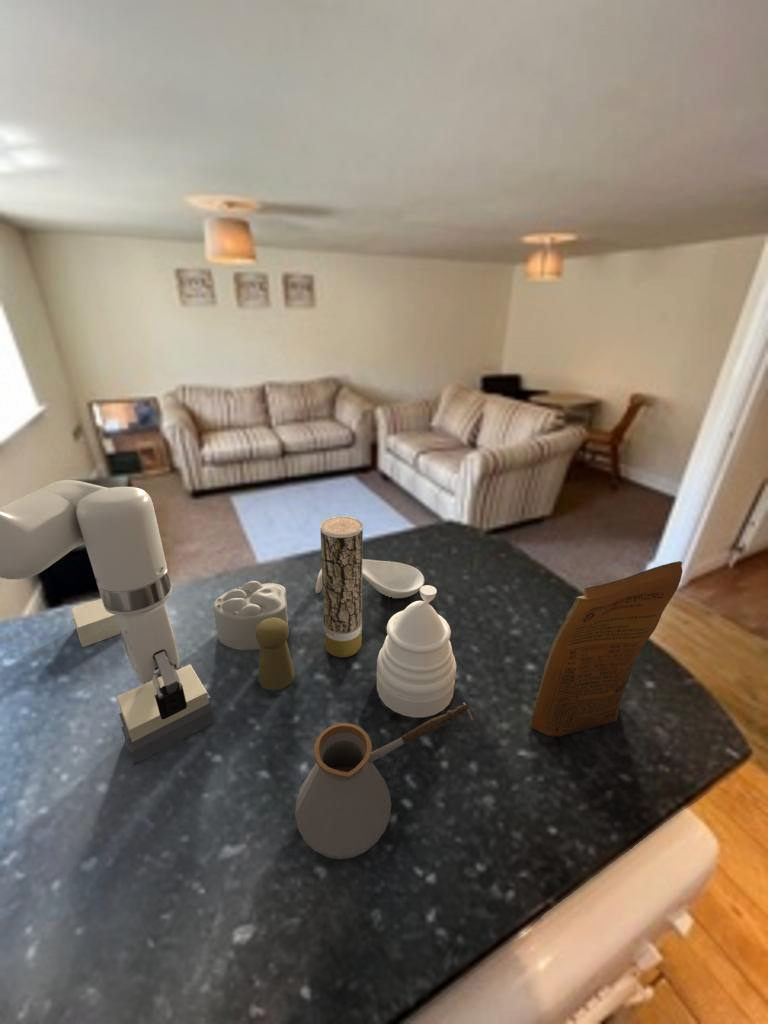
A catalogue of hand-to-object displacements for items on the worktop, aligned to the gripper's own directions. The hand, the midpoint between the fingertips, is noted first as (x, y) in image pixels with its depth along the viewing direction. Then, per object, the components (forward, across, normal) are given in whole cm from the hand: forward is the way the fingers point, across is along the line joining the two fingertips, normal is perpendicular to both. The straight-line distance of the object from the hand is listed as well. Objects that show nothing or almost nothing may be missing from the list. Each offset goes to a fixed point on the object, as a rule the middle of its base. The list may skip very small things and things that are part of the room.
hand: (163, 690), depth 62 cm
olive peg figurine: (+8, 0, +17) cm, 19 cm away
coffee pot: (+9, +28, +17) cm, 33 cm away
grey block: (+8, 0, 0) cm, 8 cm away
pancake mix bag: (+9, +37, +49) cm, 62 cm away
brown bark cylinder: (+8, +1, +30) cm, 31 cm away
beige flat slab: (+3, 0, 0) cm, 3 cm away
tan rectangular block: (+8, -31, -2) cm, 32 cm away
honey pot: (+9, +16, +34) cm, 38 cm away
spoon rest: (+8, -10, +45) cm, 47 cm away
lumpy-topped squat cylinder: (+8, -13, +19) cm, 24 cm away
